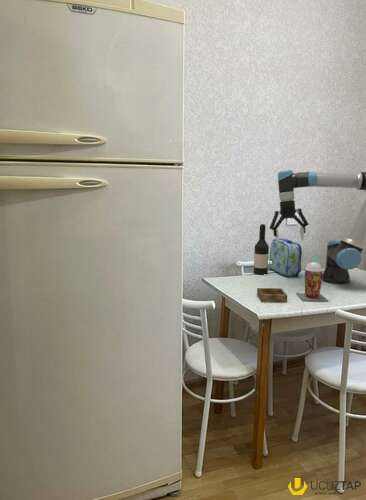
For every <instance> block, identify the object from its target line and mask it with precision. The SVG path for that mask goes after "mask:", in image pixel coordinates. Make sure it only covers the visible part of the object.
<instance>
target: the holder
mask: <svg viewBox="0 0 366 500" xmlns="http://www.w3.org/2000/svg"><path fill="white" fill-rule="evenodd" d="M256 296H257V297H258V299H259V301H260V302H261V303H288V294H287V292H286V291H285V290H284V289H283V288H281V287H280V288H279V287H276V288H275V287H271V288H270V287H257V288H256Z"/></svg>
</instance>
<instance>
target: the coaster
mask: <svg viewBox="0 0 366 500" xmlns="http://www.w3.org/2000/svg"><path fill="white" fill-rule="evenodd" d="M295 294H296V296H298V298H299V299H300V300H301V301H302V302H307V303H309V302H310V303H311V302H317V303H318V302H319V303H321V302H324V303H326V302H327V303H328V302H329V299H328V298H326V296H324V295H323V294H321V293H320V295H318V298H308V297H306V294H305V292H296V293H295Z"/></svg>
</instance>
